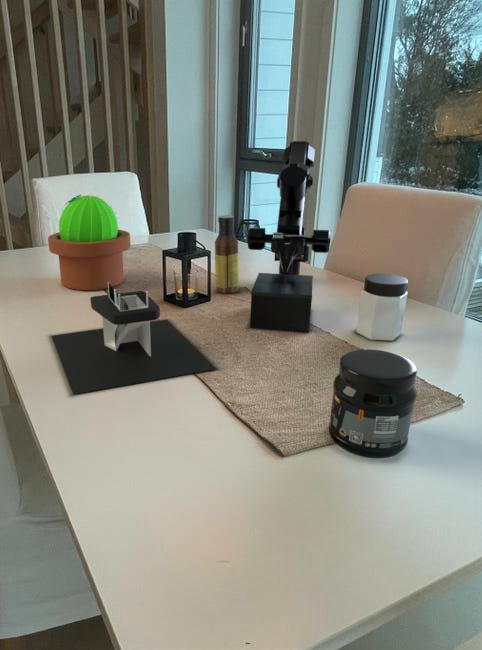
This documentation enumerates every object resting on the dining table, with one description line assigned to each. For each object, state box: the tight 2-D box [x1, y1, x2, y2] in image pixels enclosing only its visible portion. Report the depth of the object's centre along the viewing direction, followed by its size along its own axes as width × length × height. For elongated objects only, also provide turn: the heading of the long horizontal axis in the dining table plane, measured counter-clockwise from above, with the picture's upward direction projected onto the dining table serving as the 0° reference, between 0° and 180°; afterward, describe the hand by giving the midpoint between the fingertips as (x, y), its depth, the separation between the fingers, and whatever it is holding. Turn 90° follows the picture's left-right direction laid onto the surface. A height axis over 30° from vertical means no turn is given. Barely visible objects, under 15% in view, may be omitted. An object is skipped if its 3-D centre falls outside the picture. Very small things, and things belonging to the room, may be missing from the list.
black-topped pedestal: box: [51, 282, 217, 395], centre depth 99 cm, size 28×26×13 cm
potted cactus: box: [47, 193, 131, 291], centre depth 143 cm, size 22×22×25 cm
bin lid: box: [250, 272, 314, 300], centre depth 114 cm, size 15×13×1 cm
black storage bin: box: [249, 294, 313, 334], centre depth 116 cm, size 15×13×8 cm
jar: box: [355, 273, 409, 342], centre depth 106 cm, size 9×8×12 cm
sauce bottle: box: [214, 214, 240, 294], centre depth 134 cm, size 6×6×20 cm
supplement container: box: [328, 348, 418, 459], centre depth 70 cm, size 10×10×12 cm
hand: (284, 271), depth 116 cm, fingers closed
